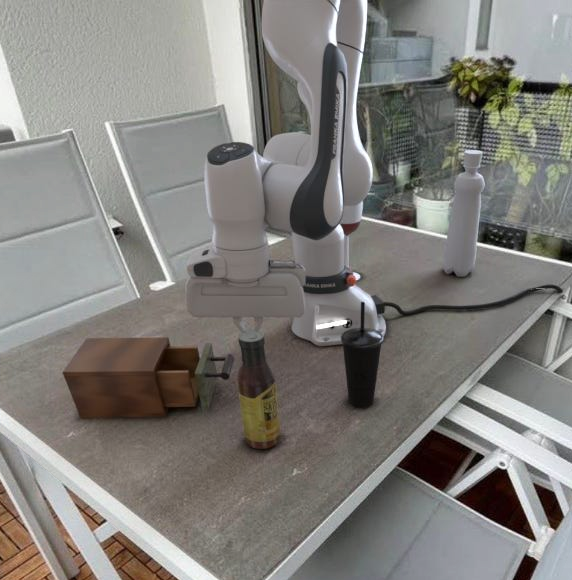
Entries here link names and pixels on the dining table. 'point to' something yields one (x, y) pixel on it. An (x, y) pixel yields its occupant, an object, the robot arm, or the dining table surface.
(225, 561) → the dining table surface
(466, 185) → the bottle
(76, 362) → the cabinet
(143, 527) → the dining table surface
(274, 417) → the sauce bottle
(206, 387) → the drawer
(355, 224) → the wineglass
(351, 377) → the drinking cup
